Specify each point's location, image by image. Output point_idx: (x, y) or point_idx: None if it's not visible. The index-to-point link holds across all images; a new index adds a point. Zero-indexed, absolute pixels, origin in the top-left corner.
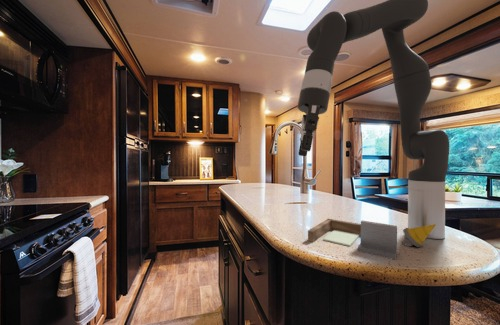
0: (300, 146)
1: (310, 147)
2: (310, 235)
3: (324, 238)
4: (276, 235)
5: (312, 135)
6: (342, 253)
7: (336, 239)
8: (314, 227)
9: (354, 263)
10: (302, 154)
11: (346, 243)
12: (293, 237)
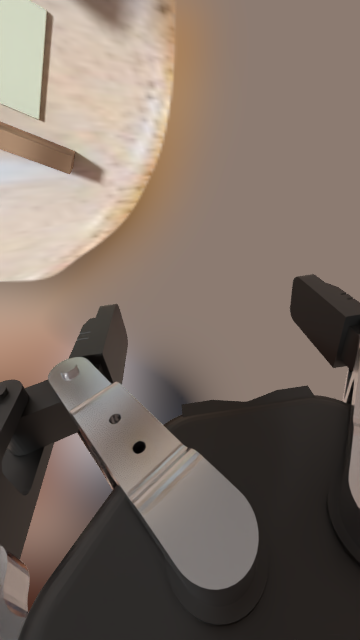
0: (122, 371)
1: (319, 281)
2: (72, 163)
3: (32, 113)
4: (75, 249)
5: (116, 384)
6: (120, 59)
7: (16, 64)
8: (23, 153)
9: (174, 32)
10: (122, 324)
11: (38, 25)
12: (65, 208)
